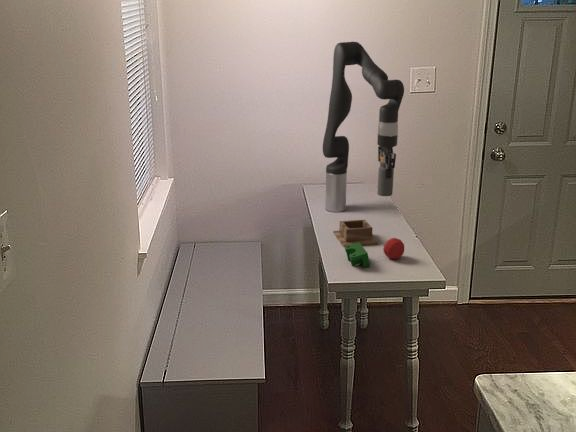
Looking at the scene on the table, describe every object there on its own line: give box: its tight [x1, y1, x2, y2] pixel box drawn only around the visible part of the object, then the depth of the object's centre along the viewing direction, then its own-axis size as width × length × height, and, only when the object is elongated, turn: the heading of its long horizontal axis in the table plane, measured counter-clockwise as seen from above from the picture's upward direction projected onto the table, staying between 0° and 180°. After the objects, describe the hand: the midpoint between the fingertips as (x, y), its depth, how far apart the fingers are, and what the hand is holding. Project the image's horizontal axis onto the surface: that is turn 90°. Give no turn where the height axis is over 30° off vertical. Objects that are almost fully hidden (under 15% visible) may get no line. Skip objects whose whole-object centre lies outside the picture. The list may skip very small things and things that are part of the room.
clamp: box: [344, 242, 371, 268], centre depth 240 cm, size 12×6×9 cm, turn 3°
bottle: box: [377, 156, 395, 197], centre depth 259 cm, size 6×6×15 cm
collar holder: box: [332, 219, 380, 248], centre depth 264 cm, size 16×14×6 cm
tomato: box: [382, 237, 405, 260], centre depth 244 cm, size 8×8×8 cm
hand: (385, 175), depth 259 cm, fingers closed on bottle, 6 cm apart
